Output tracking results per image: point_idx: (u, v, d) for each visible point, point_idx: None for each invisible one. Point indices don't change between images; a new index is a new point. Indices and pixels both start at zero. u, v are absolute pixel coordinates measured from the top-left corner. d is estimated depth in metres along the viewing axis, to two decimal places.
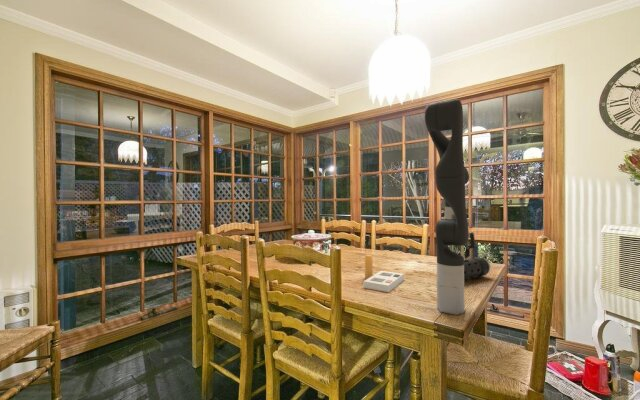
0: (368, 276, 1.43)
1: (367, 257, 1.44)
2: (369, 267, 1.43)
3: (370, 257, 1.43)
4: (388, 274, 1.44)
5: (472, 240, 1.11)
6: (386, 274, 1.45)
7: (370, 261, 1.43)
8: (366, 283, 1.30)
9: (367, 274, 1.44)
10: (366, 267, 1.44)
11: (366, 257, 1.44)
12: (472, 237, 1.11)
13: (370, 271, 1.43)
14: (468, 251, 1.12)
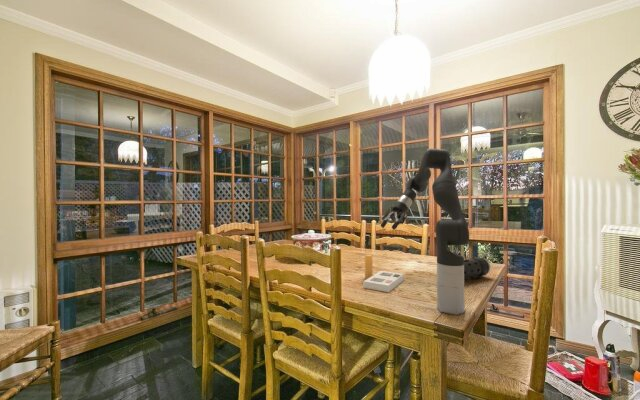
0: (368, 276, 1.43)
1: (367, 257, 1.44)
2: (369, 267, 1.43)
3: (370, 257, 1.43)
4: (388, 274, 1.44)
5: (402, 216, 1.47)
6: (386, 274, 1.45)
7: (370, 261, 1.43)
8: (366, 283, 1.30)
9: (367, 274, 1.44)
10: (366, 267, 1.44)
11: (366, 257, 1.44)
12: (403, 215, 1.48)
13: (370, 271, 1.43)
14: (396, 224, 1.47)
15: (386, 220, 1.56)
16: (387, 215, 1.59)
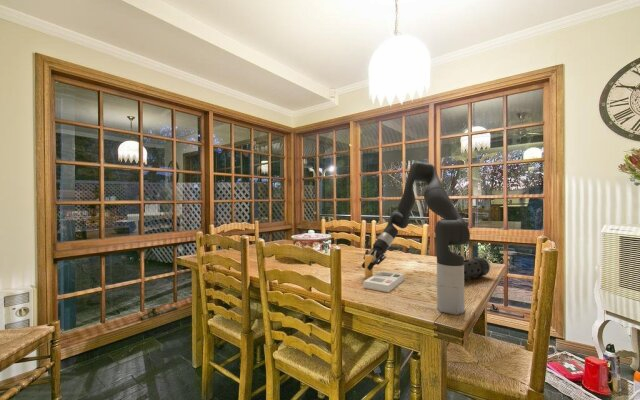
0: (368, 276, 1.43)
1: (367, 257, 1.43)
2: None
3: (370, 257, 1.43)
4: (388, 274, 1.44)
5: (379, 257, 1.42)
6: (386, 274, 1.45)
7: (370, 261, 1.43)
8: (366, 283, 1.30)
9: (367, 274, 1.44)
10: (366, 267, 1.44)
11: (366, 257, 1.44)
12: (380, 256, 1.42)
13: (370, 271, 1.43)
14: (371, 264, 1.42)
15: None
16: (367, 254, 1.52)
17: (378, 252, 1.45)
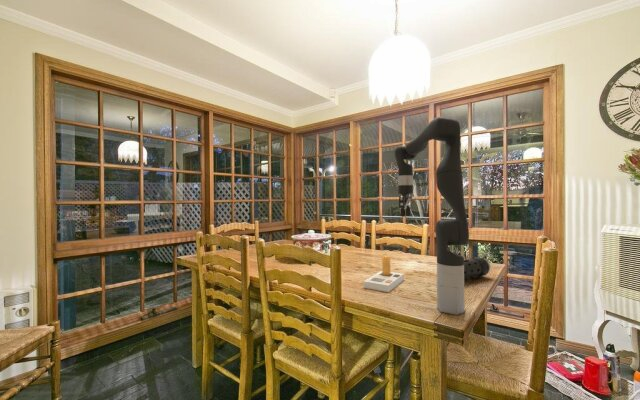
0: None
1: (385, 258, 1.40)
2: (387, 268, 1.40)
3: (388, 258, 1.40)
4: None
5: (411, 201, 1.50)
6: None
7: (388, 262, 1.40)
8: (366, 283, 1.30)
9: None
10: (384, 269, 1.40)
11: (384, 258, 1.40)
12: (411, 199, 1.50)
13: (388, 272, 1.40)
14: (409, 210, 1.49)
15: None
16: (402, 200, 1.40)
17: None
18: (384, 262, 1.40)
